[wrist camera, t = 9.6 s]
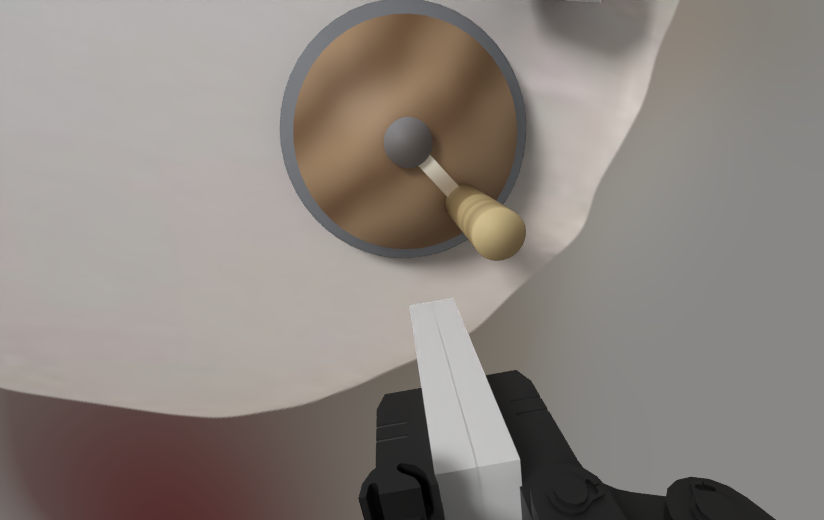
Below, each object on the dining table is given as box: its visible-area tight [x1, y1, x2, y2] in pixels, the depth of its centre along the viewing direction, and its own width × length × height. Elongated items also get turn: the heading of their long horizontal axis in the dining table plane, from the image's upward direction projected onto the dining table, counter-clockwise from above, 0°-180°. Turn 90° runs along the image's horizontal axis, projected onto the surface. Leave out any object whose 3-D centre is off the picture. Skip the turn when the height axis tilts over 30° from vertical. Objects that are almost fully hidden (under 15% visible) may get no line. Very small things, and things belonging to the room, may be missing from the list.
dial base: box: [280, 0, 526, 258], centre depth 30 cm, size 20×20×5 cm
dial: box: [293, 13, 526, 260], centre depth 25 cm, size 17×17×12 cm
